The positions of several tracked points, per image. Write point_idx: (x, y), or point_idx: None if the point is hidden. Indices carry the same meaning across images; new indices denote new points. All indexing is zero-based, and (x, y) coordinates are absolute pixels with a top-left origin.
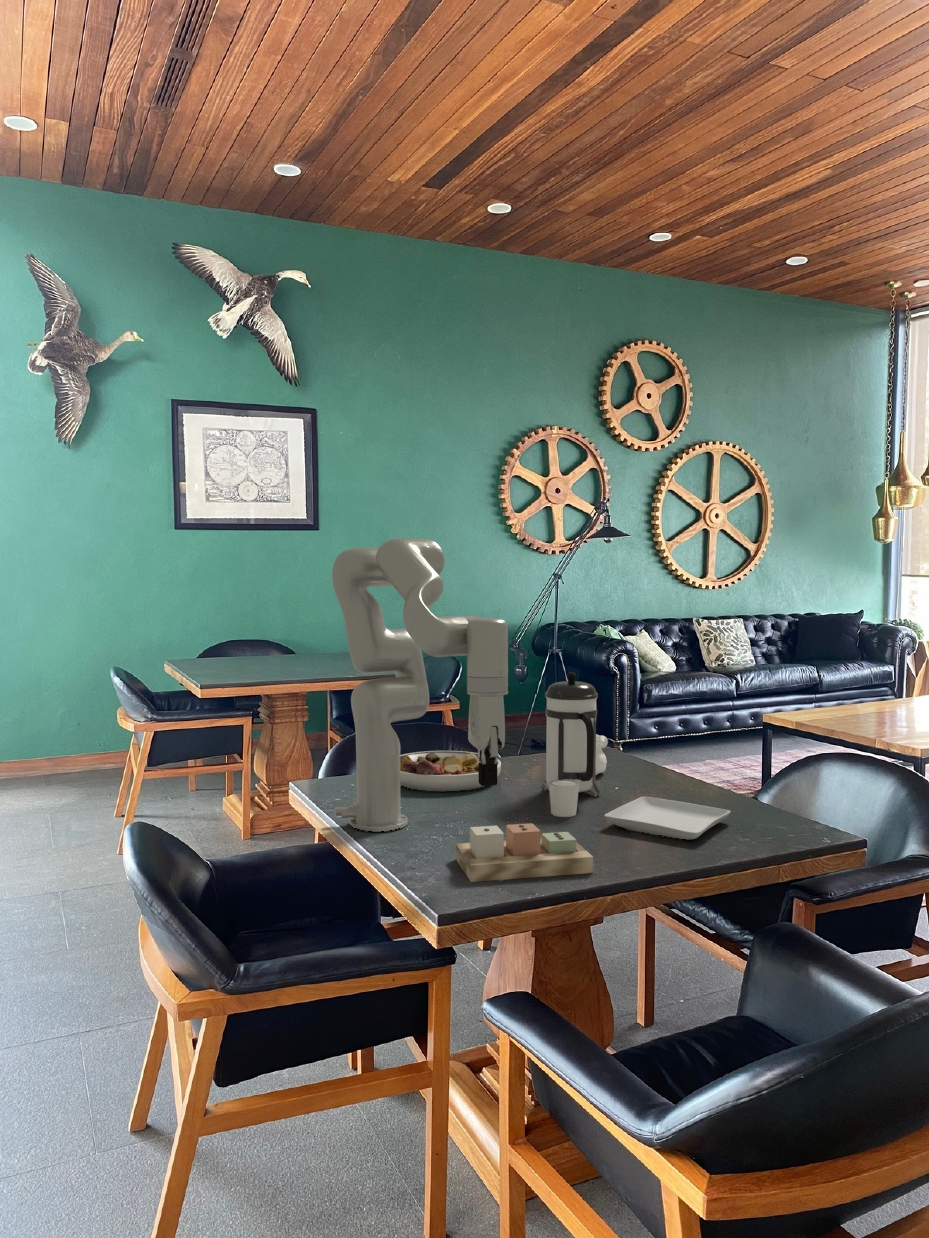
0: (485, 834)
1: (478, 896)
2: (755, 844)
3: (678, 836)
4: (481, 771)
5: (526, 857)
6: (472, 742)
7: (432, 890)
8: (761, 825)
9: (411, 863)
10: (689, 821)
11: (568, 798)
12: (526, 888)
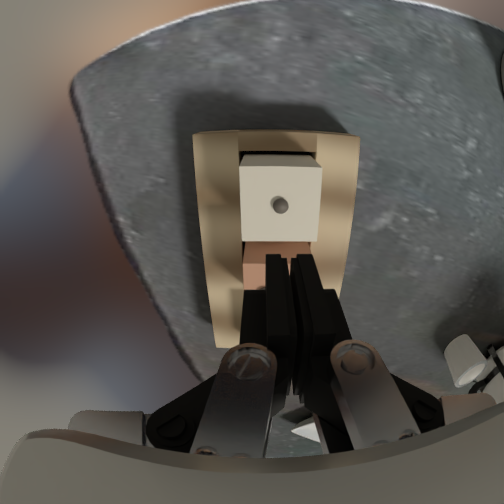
0: (241, 192)
1: (127, 137)
2: (278, 440)
3: (310, 418)
4: (268, 304)
5: (227, 258)
6: (368, 493)
7: (168, 57)
8: None
9: (341, 42)
10: None
11: (453, 366)
12: (157, 224)
